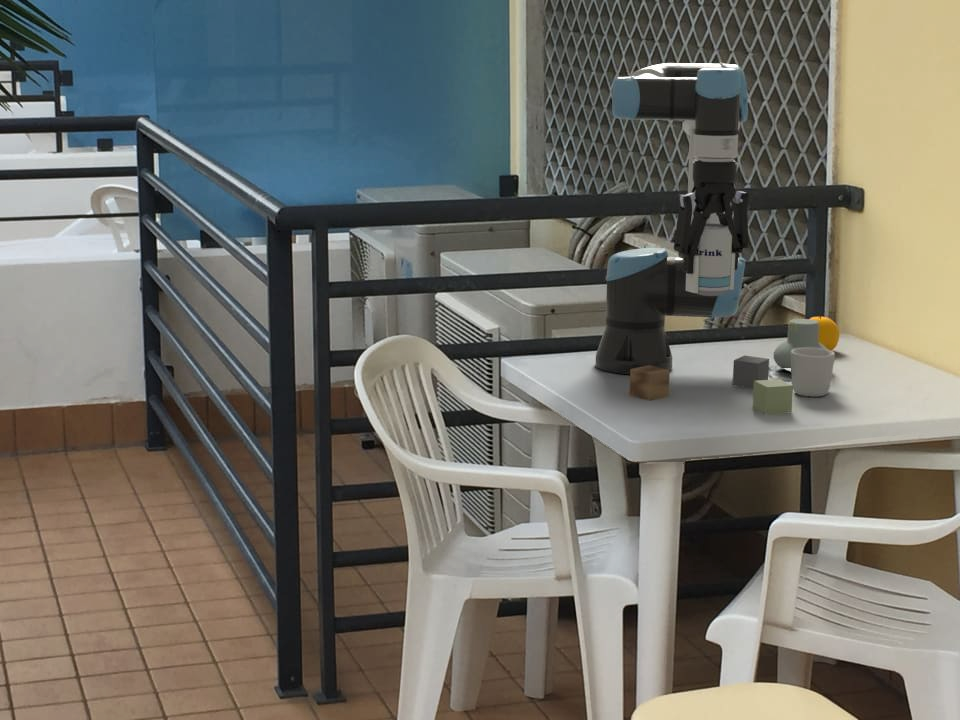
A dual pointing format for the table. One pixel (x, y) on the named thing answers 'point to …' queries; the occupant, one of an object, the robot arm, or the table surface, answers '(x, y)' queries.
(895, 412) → the table surface
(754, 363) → the charcoal block
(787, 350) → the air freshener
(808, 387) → the cup
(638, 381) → the walnut block
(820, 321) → the orange
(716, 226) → the beverage can
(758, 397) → the olive block
